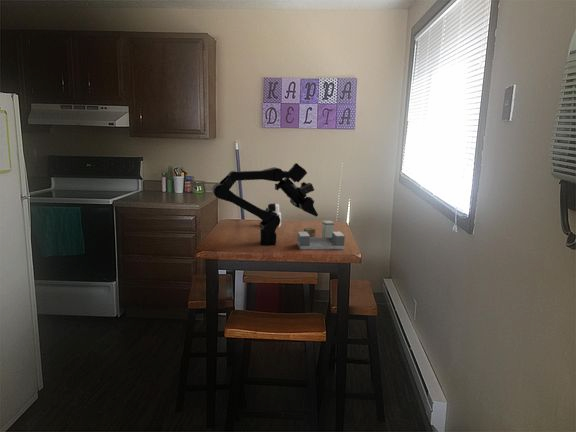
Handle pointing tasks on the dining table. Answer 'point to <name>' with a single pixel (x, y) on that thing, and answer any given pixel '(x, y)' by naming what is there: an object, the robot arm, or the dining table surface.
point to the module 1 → (303, 239)
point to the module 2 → (338, 238)
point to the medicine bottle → (276, 209)
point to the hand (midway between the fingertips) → (313, 214)
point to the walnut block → (310, 231)
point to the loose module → (327, 228)
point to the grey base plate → (321, 243)
